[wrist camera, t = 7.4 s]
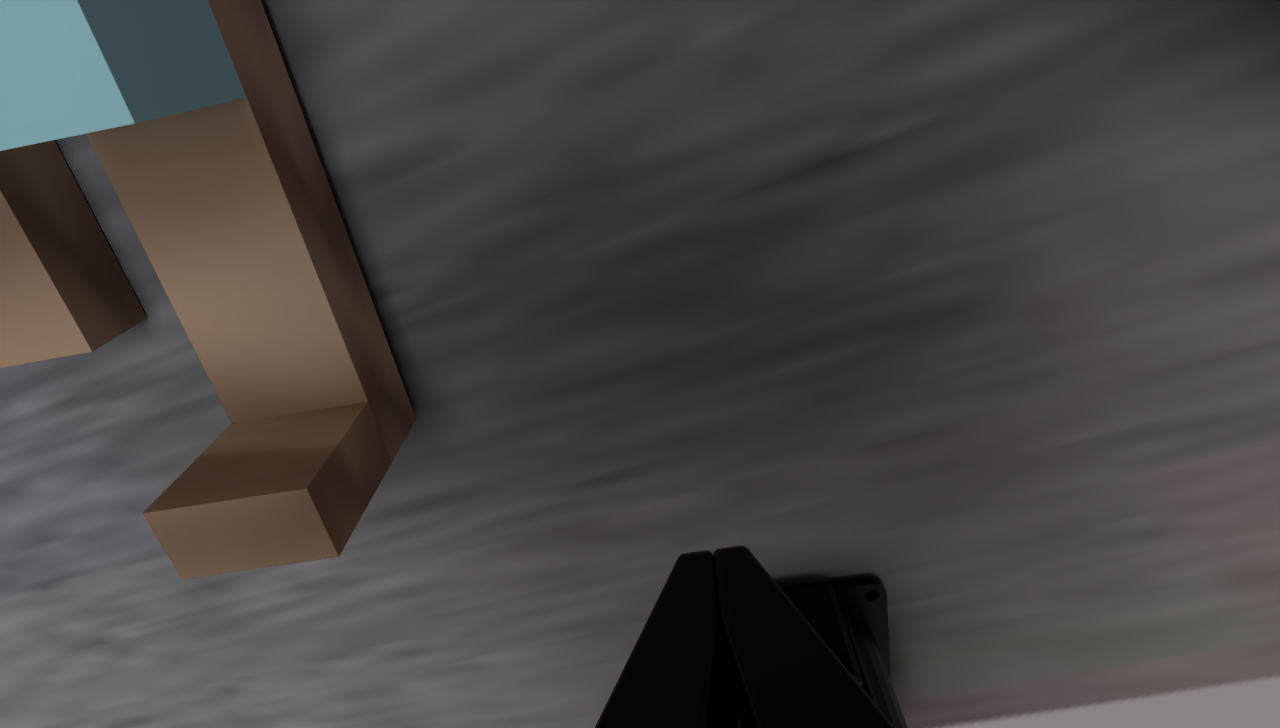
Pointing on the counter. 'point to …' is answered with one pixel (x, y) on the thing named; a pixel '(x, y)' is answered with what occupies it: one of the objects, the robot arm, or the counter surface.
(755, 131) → the counter surface
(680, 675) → the robot arm
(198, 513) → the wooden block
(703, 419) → the counter surface
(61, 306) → the broken strip
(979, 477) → the counter surface
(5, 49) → the cube
